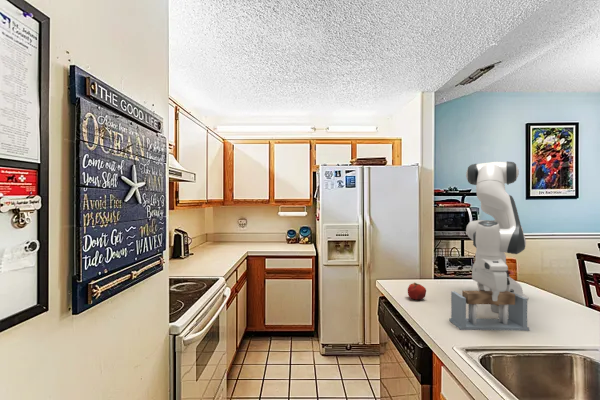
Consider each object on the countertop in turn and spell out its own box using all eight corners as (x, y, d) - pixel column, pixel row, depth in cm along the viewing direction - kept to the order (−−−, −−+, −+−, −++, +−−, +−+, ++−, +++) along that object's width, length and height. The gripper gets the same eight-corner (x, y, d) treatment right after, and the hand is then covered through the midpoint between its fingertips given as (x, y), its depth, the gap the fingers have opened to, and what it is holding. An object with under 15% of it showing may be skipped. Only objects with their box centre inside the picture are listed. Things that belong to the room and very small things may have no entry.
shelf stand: (513, 321, 143) (513, 292, 143) (529, 330, 133) (529, 298, 133) (449, 320, 144) (449, 291, 144) (459, 329, 134) (459, 298, 134)
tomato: (418, 296, 180) (418, 280, 180) (430, 300, 172) (430, 284, 172) (403, 297, 178) (403, 281, 178) (414, 302, 169) (414, 286, 169)
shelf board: (467, 304, 136) (467, 293, 136) (462, 300, 141) (462, 290, 141) (515, 304, 135) (515, 294, 135) (507, 300, 140) (507, 291, 140)
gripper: (467, 257, 149) (467, 290, 149) (493, 267, 128) (493, 304, 128) (482, 257, 148) (482, 290, 148) (510, 267, 128) (510, 304, 128)
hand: (487, 297), depth 138 cm, fingers open, 8 cm apart
